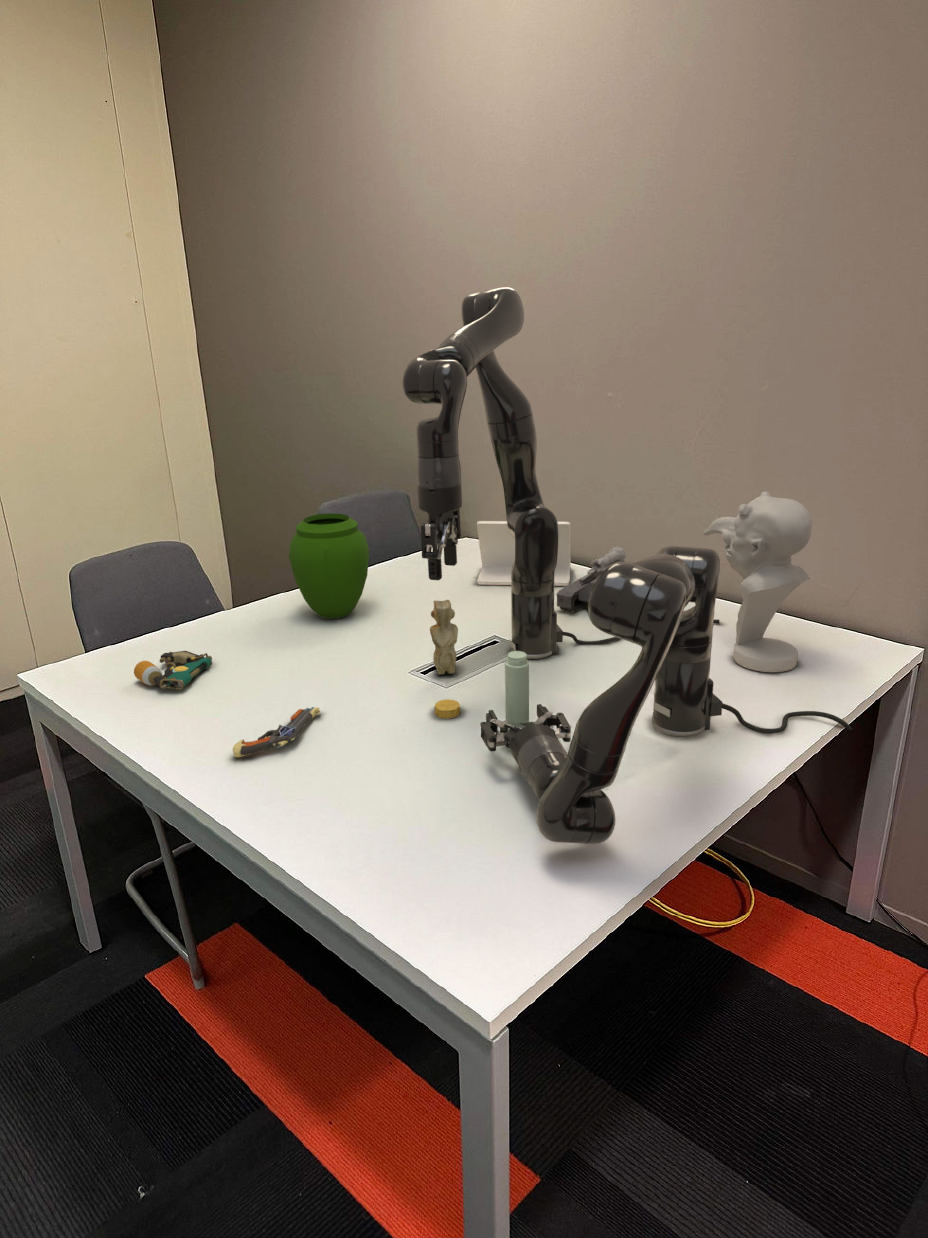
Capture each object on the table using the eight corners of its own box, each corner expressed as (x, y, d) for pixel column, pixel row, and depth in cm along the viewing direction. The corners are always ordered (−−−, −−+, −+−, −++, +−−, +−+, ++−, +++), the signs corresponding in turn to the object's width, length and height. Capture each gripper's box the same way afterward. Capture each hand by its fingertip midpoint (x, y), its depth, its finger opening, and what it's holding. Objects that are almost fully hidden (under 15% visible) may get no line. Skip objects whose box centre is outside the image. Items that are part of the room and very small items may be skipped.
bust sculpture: (733, 628, 197) (746, 477, 185) (818, 663, 177) (839, 497, 165) (679, 642, 190) (690, 486, 178) (762, 680, 170) (780, 508, 158)
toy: (603, 584, 229) (605, 530, 224) (673, 597, 218) (677, 540, 213) (555, 612, 210) (556, 553, 205) (630, 627, 199) (633, 566, 194)
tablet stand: (569, 585, 229) (570, 524, 223) (476, 584, 232) (475, 523, 226) (570, 566, 246) (571, 508, 240) (484, 564, 249) (483, 507, 243)
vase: (389, 608, 216) (383, 514, 208) (339, 633, 201) (330, 533, 192) (330, 596, 226) (322, 506, 218) (278, 619, 211) (267, 523, 202)
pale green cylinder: (516, 755, 146) (515, 661, 140) (501, 746, 149) (499, 654, 143) (534, 747, 148) (534, 654, 142) (518, 738, 151) (517, 647, 145)
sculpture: (458, 662, 183) (456, 596, 178) (460, 676, 176) (457, 608, 171) (431, 663, 183) (428, 597, 177) (431, 677, 176) (428, 609, 171)
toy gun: (227, 747, 146) (281, 745, 144) (271, 705, 164) (320, 702, 162) (230, 762, 146) (284, 759, 144) (274, 718, 164) (322, 715, 162)
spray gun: (177, 659, 191) (231, 671, 185) (120, 684, 176) (176, 698, 171) (176, 641, 190) (230, 653, 184) (118, 665, 175) (174, 678, 169)
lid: (463, 708, 163) (463, 700, 162) (455, 720, 159) (455, 711, 158) (439, 706, 164) (439, 698, 164) (431, 717, 160) (431, 709, 159)
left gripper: (432, 472, 153) (436, 559, 159) (403, 489, 140) (409, 583, 146) (472, 473, 151) (475, 561, 157) (447, 491, 138) (450, 586, 144)
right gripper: (585, 730, 132) (554, 687, 147) (496, 742, 129) (473, 696, 144) (584, 773, 134) (554, 726, 149) (497, 785, 132) (474, 736, 147)
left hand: (443, 572), depth 151 cm, fingers open, 8 cm apart
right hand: (514, 711), depth 147 cm, fingers open, 8 cm apart
